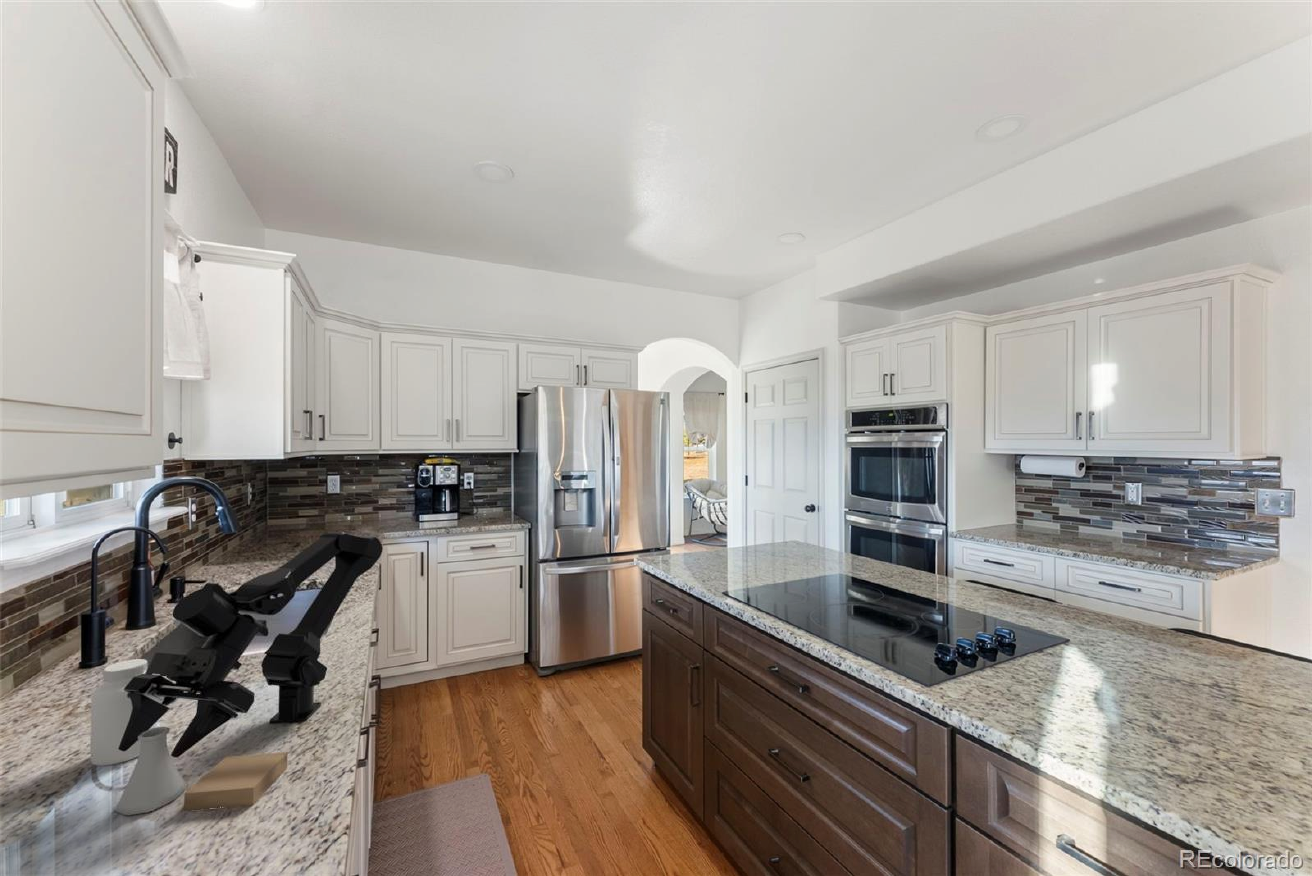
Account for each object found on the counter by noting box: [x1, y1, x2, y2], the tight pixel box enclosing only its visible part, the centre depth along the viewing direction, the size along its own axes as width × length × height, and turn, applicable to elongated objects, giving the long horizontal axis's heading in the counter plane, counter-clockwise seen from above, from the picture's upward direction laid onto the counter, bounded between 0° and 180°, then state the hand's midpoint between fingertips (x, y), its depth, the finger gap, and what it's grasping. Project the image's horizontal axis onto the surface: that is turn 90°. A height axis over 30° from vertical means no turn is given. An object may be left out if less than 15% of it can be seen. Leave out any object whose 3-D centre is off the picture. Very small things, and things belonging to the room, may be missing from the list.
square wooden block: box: [183, 752, 288, 812], centre depth 80 cm, size 9×9×3 cm
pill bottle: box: [89, 658, 158, 767], centre depth 89 cm, size 8×8×15 cm
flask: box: [114, 726, 188, 816], centre depth 77 cm, size 7×7×10 cm
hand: (147, 753), depth 76 cm, fingers open, 9 cm apart
